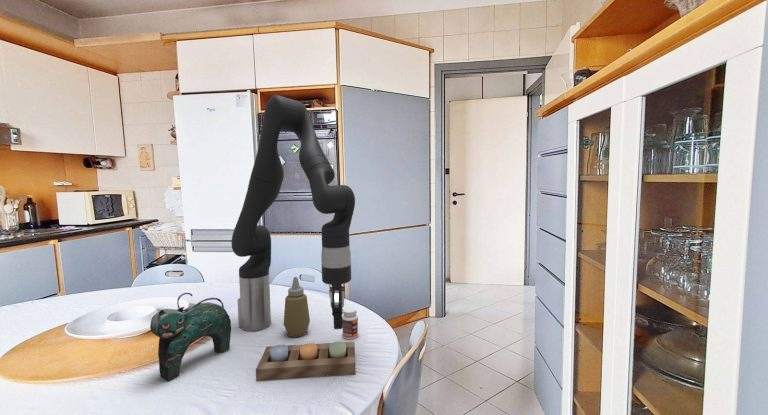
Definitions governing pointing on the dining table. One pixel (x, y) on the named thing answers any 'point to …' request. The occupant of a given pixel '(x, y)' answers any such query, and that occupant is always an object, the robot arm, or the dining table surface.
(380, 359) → the dining table surface
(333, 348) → the sage green button
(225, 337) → the ceramic cat
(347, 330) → the pill bottle
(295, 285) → the squeeze bottle
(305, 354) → the orange button
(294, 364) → the walnut button panel
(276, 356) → the slate blue button
